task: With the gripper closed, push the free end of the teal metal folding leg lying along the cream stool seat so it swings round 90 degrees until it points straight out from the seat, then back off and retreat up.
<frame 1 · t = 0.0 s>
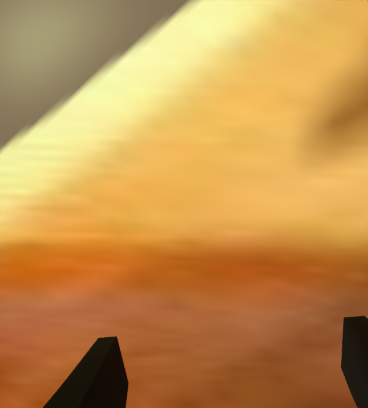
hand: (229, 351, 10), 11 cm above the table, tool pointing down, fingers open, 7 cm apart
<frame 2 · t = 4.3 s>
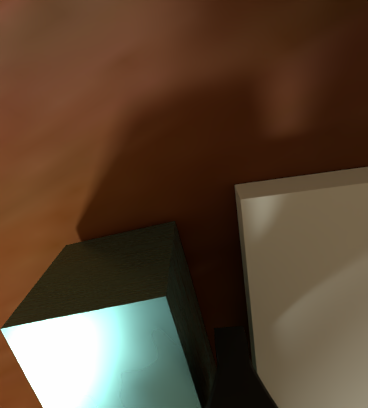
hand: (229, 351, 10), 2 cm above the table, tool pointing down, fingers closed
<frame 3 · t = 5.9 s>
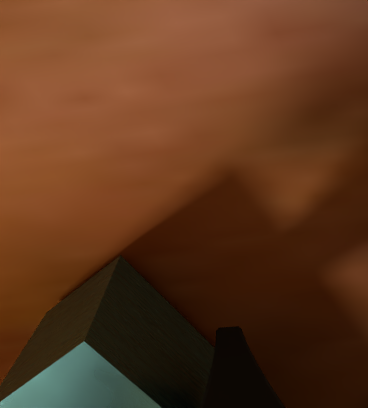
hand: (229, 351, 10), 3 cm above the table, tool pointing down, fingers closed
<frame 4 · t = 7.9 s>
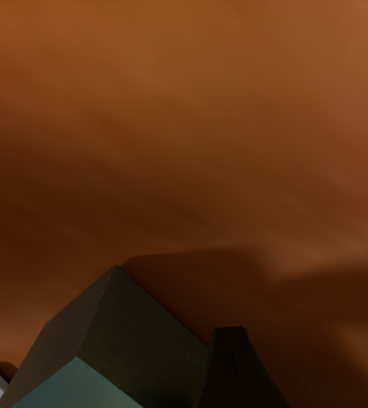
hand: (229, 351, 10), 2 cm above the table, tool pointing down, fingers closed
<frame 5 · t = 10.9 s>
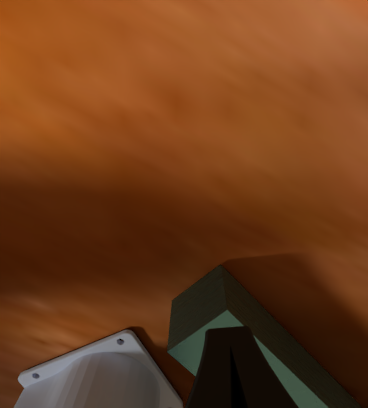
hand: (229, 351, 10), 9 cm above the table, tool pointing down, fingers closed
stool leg: (280, 384, 20), point 3 cm above the table, hinge at 92.1°
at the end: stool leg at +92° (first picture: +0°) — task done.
